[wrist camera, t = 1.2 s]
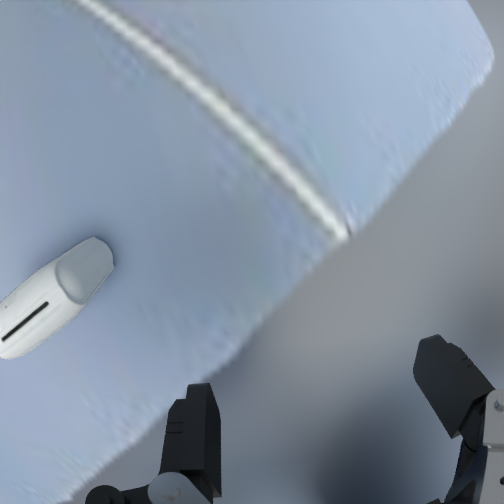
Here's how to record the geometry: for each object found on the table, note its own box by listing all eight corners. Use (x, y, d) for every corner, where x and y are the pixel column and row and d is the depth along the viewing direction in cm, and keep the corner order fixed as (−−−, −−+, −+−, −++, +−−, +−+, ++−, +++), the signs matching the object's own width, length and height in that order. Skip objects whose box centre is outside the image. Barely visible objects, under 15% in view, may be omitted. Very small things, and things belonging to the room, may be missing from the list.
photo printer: (52, 316, 27) (1, 380, 15) (30, 282, 25) (-34, 333, 14) (123, 266, 27) (86, 320, 16) (98, 228, 26) (44, 259, 14)
